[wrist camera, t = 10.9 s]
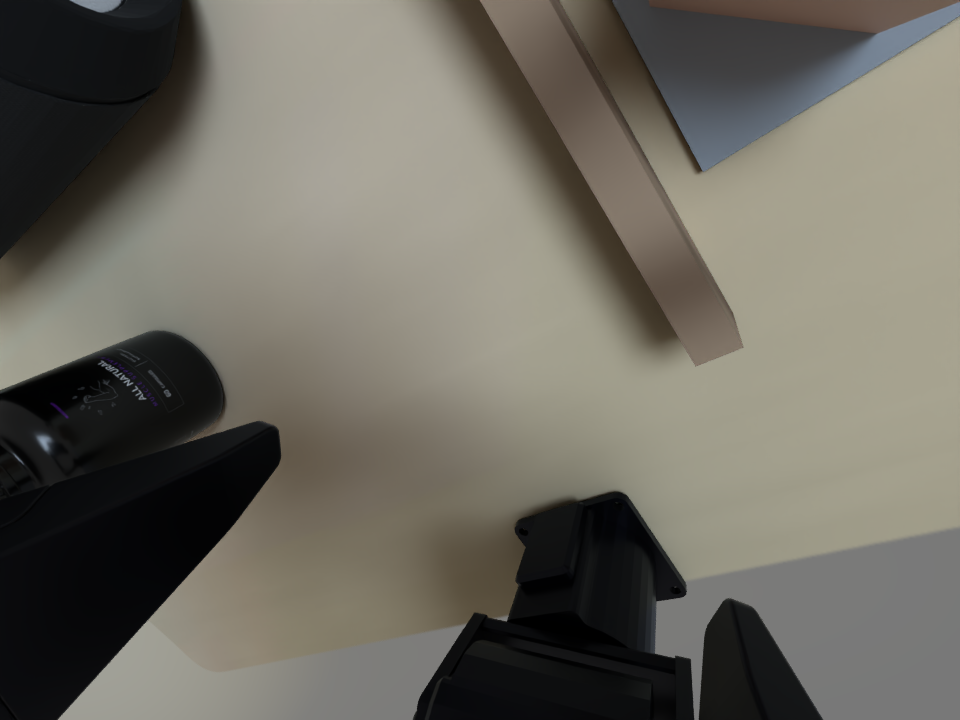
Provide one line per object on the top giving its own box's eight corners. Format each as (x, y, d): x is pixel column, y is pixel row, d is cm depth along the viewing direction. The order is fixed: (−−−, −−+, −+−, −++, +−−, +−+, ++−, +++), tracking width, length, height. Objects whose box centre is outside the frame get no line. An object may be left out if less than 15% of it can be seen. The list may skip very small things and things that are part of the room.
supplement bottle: (212, 335, 27) (-53, 464, 17) (238, 431, 31) (27, 587, 20) (126, 318, 29) (-157, 424, 19) (159, 410, 33) (-69, 543, 22)
